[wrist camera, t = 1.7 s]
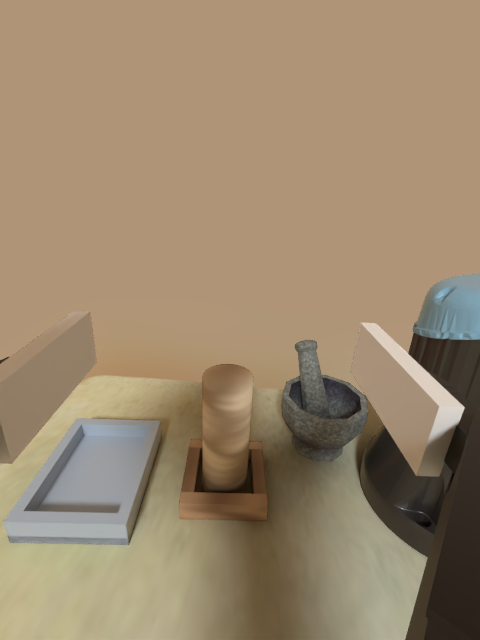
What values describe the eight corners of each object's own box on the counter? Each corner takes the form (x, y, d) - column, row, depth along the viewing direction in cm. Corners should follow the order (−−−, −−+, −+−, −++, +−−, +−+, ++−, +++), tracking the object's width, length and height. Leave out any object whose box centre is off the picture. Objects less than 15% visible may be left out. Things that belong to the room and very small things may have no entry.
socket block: (260, 454, 38) (261, 441, 37) (266, 520, 30) (267, 505, 29) (191, 452, 37) (190, 439, 37) (179, 518, 30) (178, 503, 29)
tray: (161, 437, 40) (160, 420, 39) (128, 544, 28) (125, 524, 27) (79, 434, 39) (76, 418, 38) (10, 542, 27) (3, 522, 26)
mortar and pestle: (374, 462, 37) (398, 373, 33) (304, 484, 34) (320, 388, 30) (320, 405, 47) (332, 330, 43) (261, 418, 44) (268, 338, 39)
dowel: (245, 466, 36) (252, 364, 31) (246, 503, 32) (254, 392, 27) (204, 465, 36) (204, 363, 31) (200, 502, 32) (199, 390, 27)
